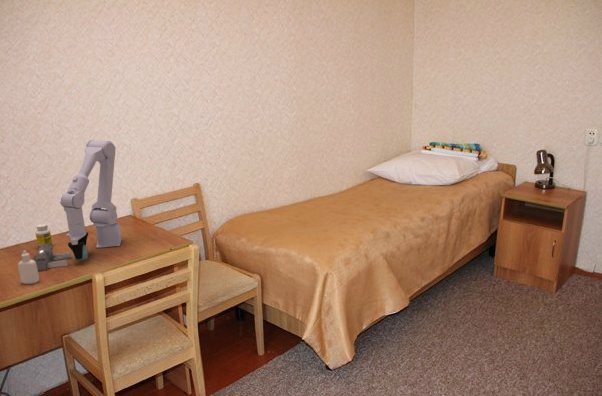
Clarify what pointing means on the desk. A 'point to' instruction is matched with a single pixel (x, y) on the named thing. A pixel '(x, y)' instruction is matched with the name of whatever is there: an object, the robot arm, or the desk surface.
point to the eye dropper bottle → (28, 269)
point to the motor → (49, 258)
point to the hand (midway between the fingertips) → (81, 254)
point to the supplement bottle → (43, 235)
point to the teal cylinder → (85, 254)
